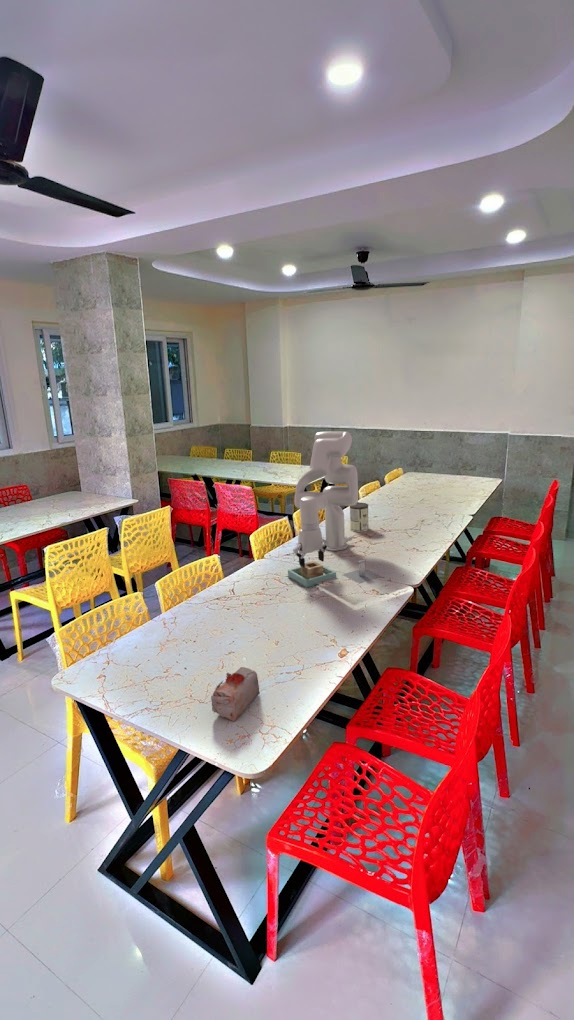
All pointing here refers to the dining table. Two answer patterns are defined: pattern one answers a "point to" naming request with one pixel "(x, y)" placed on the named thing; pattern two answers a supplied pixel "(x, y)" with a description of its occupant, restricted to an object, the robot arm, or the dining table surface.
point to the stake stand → (361, 574)
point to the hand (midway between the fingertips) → (311, 563)
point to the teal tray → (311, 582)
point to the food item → (235, 693)
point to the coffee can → (359, 517)
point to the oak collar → (311, 570)
